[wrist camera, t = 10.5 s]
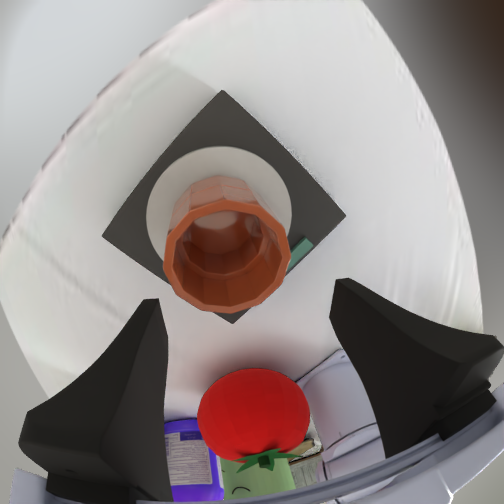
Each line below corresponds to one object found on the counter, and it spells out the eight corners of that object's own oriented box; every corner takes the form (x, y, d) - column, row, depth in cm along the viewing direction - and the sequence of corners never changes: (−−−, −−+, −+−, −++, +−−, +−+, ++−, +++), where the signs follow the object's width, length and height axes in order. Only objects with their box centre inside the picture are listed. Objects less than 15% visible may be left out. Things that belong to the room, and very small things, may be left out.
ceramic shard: (278, 459, 41) (281, 466, 39) (261, 460, 37) (264, 467, 36) (322, 433, 39) (326, 440, 38) (308, 433, 36) (312, 440, 35)
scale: (332, 204, 20) (350, 219, 18) (229, 304, 22) (233, 329, 20) (219, 92, 15) (223, 88, 13) (111, 222, 18) (98, 240, 15)
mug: (233, 431, 32) (248, 511, 22) (294, 436, 36) (316, 502, 26) (197, 461, 36) (205, 524, 26) (252, 465, 40) (266, 521, 30)
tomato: (194, 346, 24) (201, 448, 15) (305, 343, 26) (344, 429, 18) (195, 407, 29) (202, 486, 20) (283, 402, 31) (306, 473, 22)
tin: (275, 470, 44) (284, 505, 36) (270, 467, 42) (280, 504, 35) (347, 444, 43) (362, 478, 36) (347, 440, 42) (362, 476, 35)
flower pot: (282, 214, 17) (313, 254, 12) (222, 275, 18) (232, 329, 13) (215, 154, 14) (223, 172, 10) (154, 225, 16) (139, 271, 11)
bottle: (169, 438, 32) (178, 551, 16) (151, 420, 29) (155, 549, 14) (220, 431, 32) (241, 549, 17) (207, 412, 29) (227, 549, 14)
